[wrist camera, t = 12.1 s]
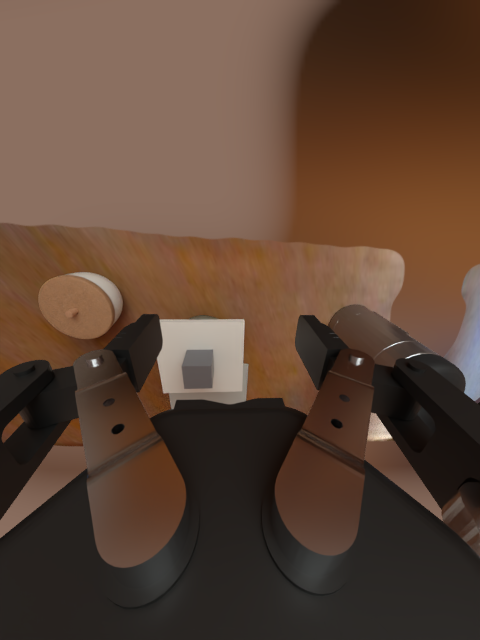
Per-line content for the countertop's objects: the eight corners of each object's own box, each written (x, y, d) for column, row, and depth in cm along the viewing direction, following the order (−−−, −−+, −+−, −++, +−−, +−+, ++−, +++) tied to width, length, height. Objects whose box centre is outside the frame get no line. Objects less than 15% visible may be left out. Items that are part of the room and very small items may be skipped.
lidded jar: (122, 263, 37) (91, 276, 29) (138, 317, 42) (116, 342, 33) (62, 267, 37) (12, 282, 28) (85, 321, 42) (48, 347, 33)
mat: (248, 363, 48) (248, 364, 48) (244, 420, 56) (244, 421, 56) (164, 364, 47) (164, 364, 47) (173, 421, 55) (173, 422, 55)
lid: (244, 319, 35) (246, 335, 30) (241, 387, 41) (243, 410, 36) (152, 319, 34) (139, 336, 29) (164, 389, 40) (156, 413, 35)
